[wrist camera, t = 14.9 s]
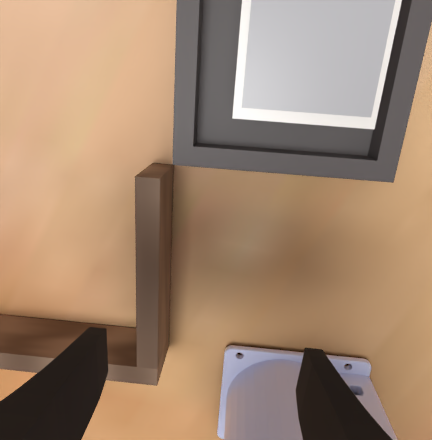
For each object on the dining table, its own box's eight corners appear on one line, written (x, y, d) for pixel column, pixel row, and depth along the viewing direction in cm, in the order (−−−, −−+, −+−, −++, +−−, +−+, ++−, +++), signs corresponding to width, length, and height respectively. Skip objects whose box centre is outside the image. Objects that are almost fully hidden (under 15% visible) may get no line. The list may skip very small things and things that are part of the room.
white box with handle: (369, -91, 15) (450, -208, 9) (333, 118, 18) (377, 130, 12) (253, -97, 16) (259, -214, 10) (235, 111, 18) (232, 119, 13)
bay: (173, 164, 20) (160, 178, 17) (168, 346, 24) (157, 385, 21) (-105, 142, 21) (-170, 151, 18) (-64, 322, 25) (-111, 357, 22)
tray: (452, -158, 15) (482, -194, 13) (378, 173, 20) (393, 182, 18) (189, -168, 15) (182, -205, 14) (179, 158, 20) (172, 164, 18)
